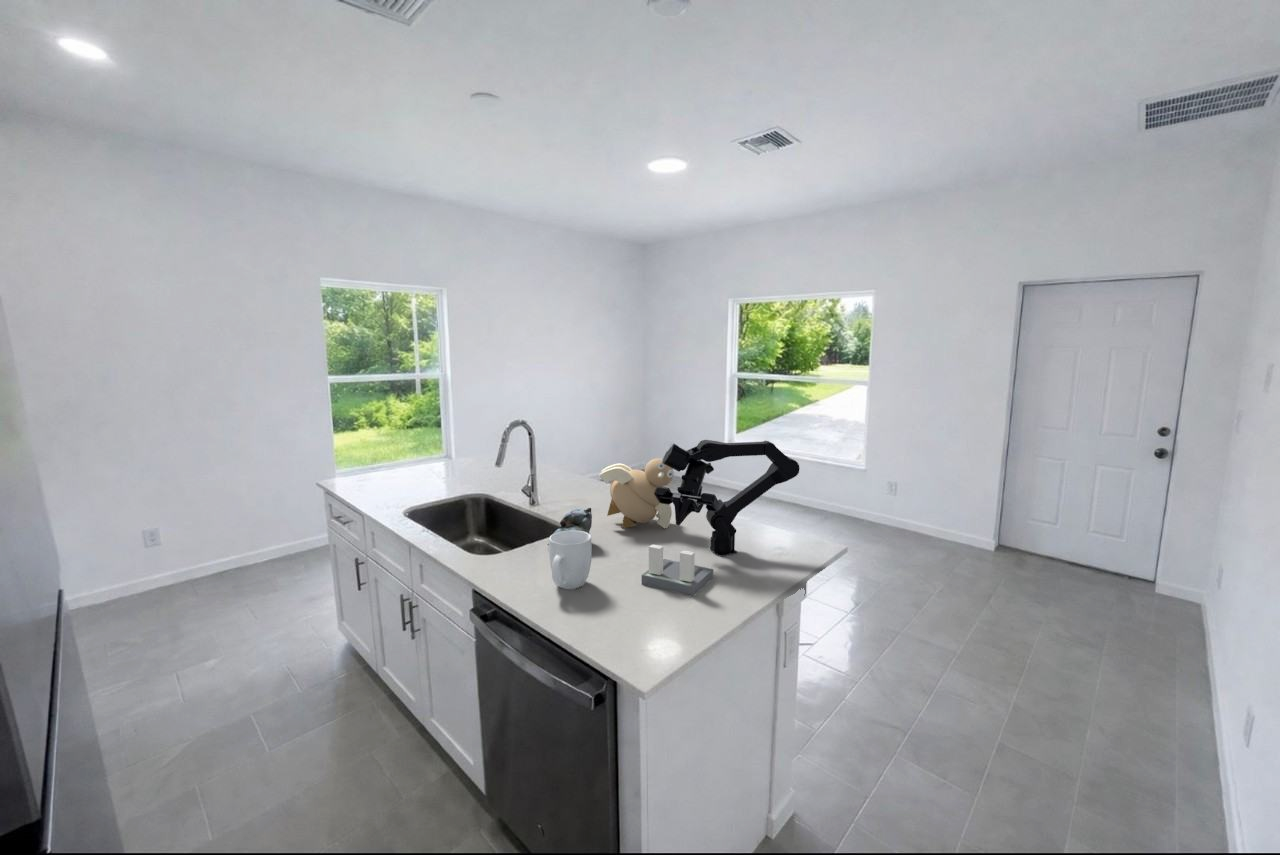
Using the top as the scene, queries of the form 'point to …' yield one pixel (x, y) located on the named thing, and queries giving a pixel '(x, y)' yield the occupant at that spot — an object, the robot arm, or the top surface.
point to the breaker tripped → (656, 559)
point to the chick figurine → (638, 492)
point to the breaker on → (687, 566)
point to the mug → (570, 558)
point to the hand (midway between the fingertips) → (677, 524)
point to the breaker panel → (678, 578)
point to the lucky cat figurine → (576, 521)
